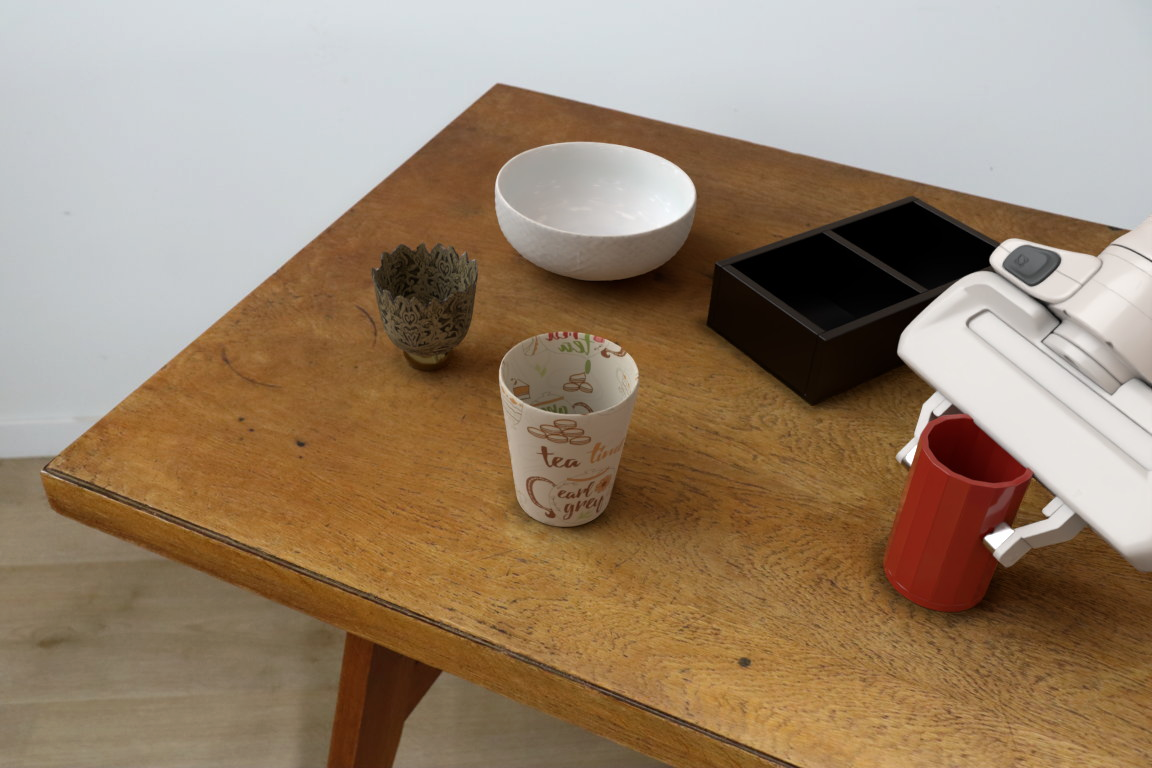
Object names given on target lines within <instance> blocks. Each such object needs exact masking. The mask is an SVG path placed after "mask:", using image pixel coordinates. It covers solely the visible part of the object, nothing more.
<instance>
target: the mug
mask: <svg viewBox="0 0 1152 768" xmlns="http://www.w3.org/2000/svg"><path fill="white" fill-rule="evenodd" d="M640 378H641V377H640V372H639V367H638V365H637V363H636V361H635V360H634V358H633V357H632V356H631V355H630V354H629V353H628V352H627V351H626V350H625V349H624V348H622V347H621V346H620V345H618V344H616V343H615V342H612V341H610V340H608V339H607V338H603V337H601V336H597V335H594V334H590V333H584V332H577V331H555V332H554V331H553V332H548V333H542V334H538V335H534V336H532V337H528V338H527V339H525V340H522V341H521V342H519V343H517V344H516V345H514V346H513V347H511V348H510V349H509V350H508V351H507V352H506V353H505V355H504V356H503V358H502V360H501V363H500V366H499V369H498V380H499V381H498V382H499V383H498V384H499V392H500V398H501V405H502V410H503V417H504V424H505V431H506V437H507V443H508V449H509V456H510V462H511V468H512V476H513V483H514V489H515V493H516V498H517V502H518V503H519V506H520V507H521V508H522V510H523V511H524V512H525V513H526V514H527V515H528V516H529V517H531V518H532V519H534V520H535V521H537V522H540V523H542V524H544V525H547V526H554V527H561V528H562V527H563V528H564V527H567V528H568V527H569V528H570V527H576V526H581V525H584V524H587V523H589V522H591V521H593V520H595V519H596V518H598V517H599V516H600V515H602V513H604V511H605V510H606V508H607V507H608V505H609V502H610V498H611V496H612V492H613V488H614V484H615V480H616V477H617V473H618V470H619V469H618V468H619V465H620V461H621V457H622V454H623V450H624V447H625V442H626V439H627V435H628V431H629V427H630V424H631V421H632V416H633V412H634V408H635V405H636V401H637V397H638V393H639V388H640Z"/></svg>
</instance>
